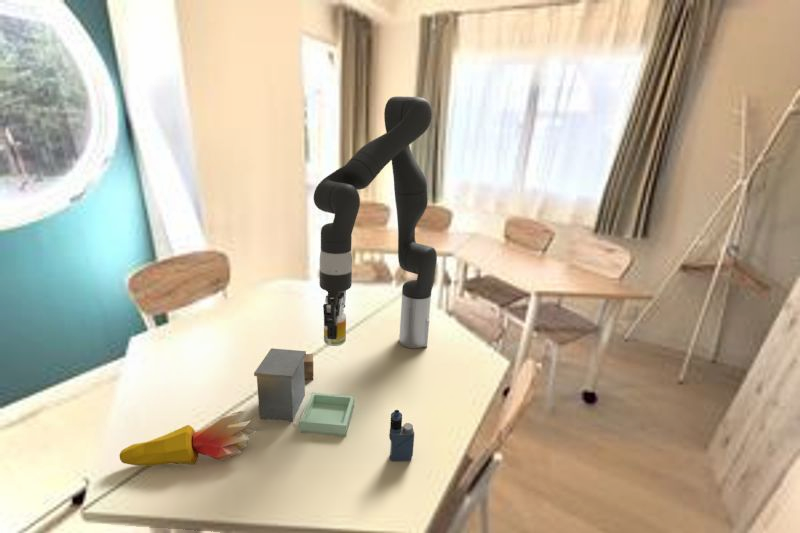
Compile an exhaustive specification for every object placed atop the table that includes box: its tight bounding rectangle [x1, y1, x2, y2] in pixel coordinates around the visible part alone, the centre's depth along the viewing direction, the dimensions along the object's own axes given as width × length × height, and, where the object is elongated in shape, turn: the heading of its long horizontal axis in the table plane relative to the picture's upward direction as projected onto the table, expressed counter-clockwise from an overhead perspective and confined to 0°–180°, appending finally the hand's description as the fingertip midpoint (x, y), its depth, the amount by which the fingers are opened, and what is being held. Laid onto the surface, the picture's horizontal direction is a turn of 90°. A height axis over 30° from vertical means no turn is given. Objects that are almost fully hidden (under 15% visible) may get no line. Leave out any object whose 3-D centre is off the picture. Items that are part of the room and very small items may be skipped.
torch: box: [119, 410, 257, 467], centre depth 84 cm, size 8×8×25 cm
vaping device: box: [388, 409, 415, 462], centre depth 86 cm, size 3×5×12 cm, turn 95°
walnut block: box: [304, 353, 314, 382], centre depth 113 cm, size 4×4×6 cm
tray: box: [299, 392, 355, 437], centre depth 98 cm, size 11×11×3 cm
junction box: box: [253, 348, 307, 422], centre depth 100 cm, size 9×11×13 cm
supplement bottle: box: [323, 304, 347, 347], centre depth 101 cm, size 5×5×10 cm
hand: (335, 332), depth 102 cm, fingers closed on supplement bottle, 5 cm apart
